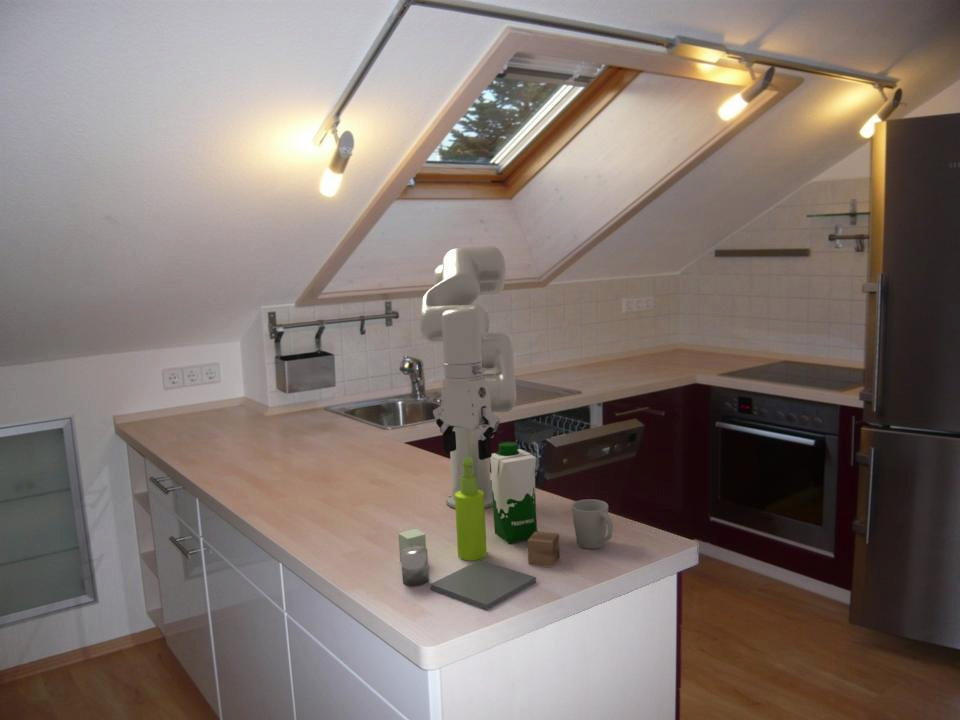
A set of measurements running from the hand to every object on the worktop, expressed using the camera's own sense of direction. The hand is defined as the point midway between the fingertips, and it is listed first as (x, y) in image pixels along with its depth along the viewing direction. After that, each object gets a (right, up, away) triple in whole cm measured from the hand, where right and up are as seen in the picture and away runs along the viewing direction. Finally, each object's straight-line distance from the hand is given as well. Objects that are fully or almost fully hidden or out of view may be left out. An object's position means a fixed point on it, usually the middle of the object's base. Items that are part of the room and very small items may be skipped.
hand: (467, 454), depth 161 cm
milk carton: (+10, -19, +12) cm, 25 cm away
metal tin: (-10, -23, -8) cm, 26 cm away
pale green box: (-11, -22, +1) cm, 24 cm away
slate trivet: (+3, -23, -12) cm, 26 cm away
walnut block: (+15, -21, -1) cm, 26 cm away
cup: (+26, -20, +5) cm, 33 cm away
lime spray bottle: (+1, -21, +4) cm, 21 cm away
